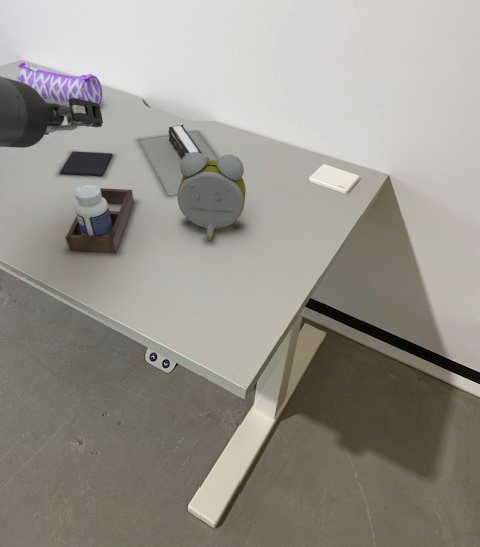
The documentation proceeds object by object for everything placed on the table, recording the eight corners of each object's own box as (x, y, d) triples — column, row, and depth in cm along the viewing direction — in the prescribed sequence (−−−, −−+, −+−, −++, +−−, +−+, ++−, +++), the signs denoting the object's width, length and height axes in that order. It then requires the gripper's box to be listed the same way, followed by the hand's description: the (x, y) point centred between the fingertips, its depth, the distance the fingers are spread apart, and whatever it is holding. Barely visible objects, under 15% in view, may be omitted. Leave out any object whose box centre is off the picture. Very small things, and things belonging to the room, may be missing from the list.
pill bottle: (117, 228, 77) (108, 183, 70) (110, 247, 73) (99, 201, 66) (88, 227, 77) (76, 181, 70) (79, 246, 73) (65, 199, 66)
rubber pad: (60, 174, 89) (59, 171, 89) (73, 153, 96) (72, 151, 95) (102, 176, 90) (102, 174, 89) (112, 155, 96) (112, 153, 96)
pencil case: (18, 103, 113) (6, 66, 107) (40, 91, 120) (30, 55, 113) (90, 117, 109) (82, 80, 103) (109, 104, 116) (102, 68, 109)
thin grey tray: (196, 132, 106) (196, 116, 103) (234, 183, 90) (235, 165, 87) (140, 140, 102) (137, 123, 99) (169, 195, 86) (167, 177, 83)
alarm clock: (243, 221, 80) (248, 149, 70) (241, 244, 76) (246, 170, 65) (183, 217, 81) (179, 144, 70) (177, 239, 76) (171, 165, 65)
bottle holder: (69, 250, 72) (65, 237, 70) (93, 200, 83) (90, 187, 81) (116, 253, 72) (113, 239, 70) (133, 202, 83) (131, 189, 81)
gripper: (44, 64, 44) (112, 88, 60) (-71, 84, 47) (23, 103, 62) (59, 138, 46) (121, 143, 61) (-52, 154, 48) (34, 155, 64)
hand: (72, 123), depth 62 cm, fingers open, 8 cm apart
